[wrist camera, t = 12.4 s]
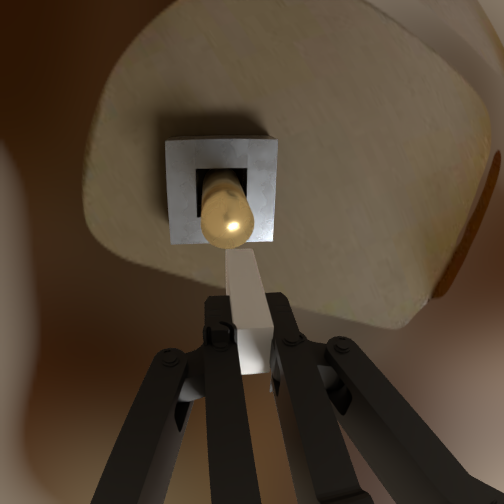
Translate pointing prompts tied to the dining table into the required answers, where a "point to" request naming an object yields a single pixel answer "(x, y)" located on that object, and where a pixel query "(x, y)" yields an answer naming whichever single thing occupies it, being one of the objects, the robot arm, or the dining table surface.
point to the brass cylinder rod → (225, 210)
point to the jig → (219, 156)
